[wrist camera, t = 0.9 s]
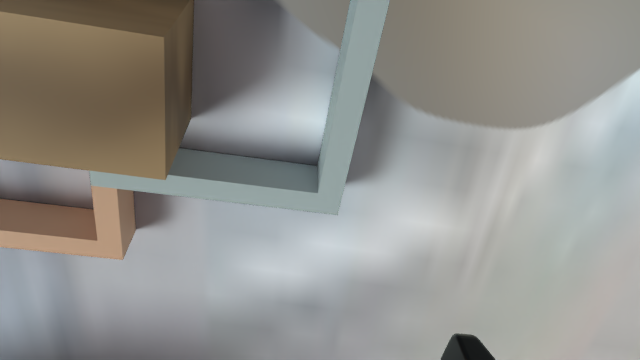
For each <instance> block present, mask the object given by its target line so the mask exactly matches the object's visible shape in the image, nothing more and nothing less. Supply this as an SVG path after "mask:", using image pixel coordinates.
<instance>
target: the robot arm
mask: <svg viewBox="0 0 640 360" xmlns="http://www.w3.org/2000/svg"><path fill="white" fill-rule="evenodd" d="M441 360H495V358H494V357H493V356H492V355H491V354H490V352H489V351H488V350H487V349H486V347H485V346H484V345H483V344H482V343H481V341H480V340H479V339H478V338H477V337H476V336H474V335H468V334H454V335H453V336H452V337H451V339H450V341H449V343H448V345H447V347H446V349H445V351H444V353H443V355H442V357H441Z"/></svg>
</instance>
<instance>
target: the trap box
mask: <svg viewBox="0 0 640 360" xmlns="http://www.w3.org/2000/svg"><path fill="white" fill-rule="evenodd" d="M389 2H390V0H350V5H349V9H348V15H347V20H346V25H345V30H344V35H343V40H342V45H341V50H340V55H339V60H338V65H337V70H336V75H335V80H334V85H333V90H332V95H331V100H330V105H329V110H328V115H327V120H326V125H325V130H324V135H323V140H322V145H321V150H320V155H319V160H318V165H317V166H313V165H306V164H298V163H290V162H283V161H275V160H267V159H260V158H252V157H244V156H237V155H229V154H221V153H214V152H206V151H198V150H191V149H183V148H179V149H178V151H177V154H176V156H175V158H174V161H173V163H172V166H171V168H170V170H169V173H168V175H167V178H166V180H160V179H152V178H144V177H136V176H128V175H120V174H113V173H105V172H97V171H89V174H90V182H91V190H92V199H93V207H94V209H85V208H76V207H68V206H59V205H50V204H42V203H33V202H24V201H16V200H7V199H0V247H5V248H14V249H24V250H34V251H43V252H53V253H62V254H72V255H81V256H91V257H100V258H110V259H119V260H123V258H124V256H125V254H126V251H127V249H128V247H129V244H130V242H131V240H132V238H133V235H134V233H135V231H136V227H135V211H134V195H133V191H140V192H149V193H157V194H165V195H174V196H182V197H190V198H199V199H207V200H215V201H224V202H232V203H240V204H249V205H257V206H265V207H274V208H282V209H290V210H299V211H307V212H315V213H324V214H332V215H338V211H339V207H340V203H341V199H342V195H343V191H344V187H345V183H346V179H347V174H348V170H349V166H350V162H351V158H352V154H353V150H354V146H355V142H356V138H357V133H358V129H359V125H360V121H361V117H362V113H363V109H364V105H365V101H366V97H367V92H368V88H369V84H370V80H371V76H372V72H373V67H374V64H375V59H376V55H377V51H378V47H379V43H380V39H381V35H382V31H383V27H384V23H385V18H386V14H387V10H388V6H389Z"/></svg>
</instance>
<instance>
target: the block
mask: <svg viewBox="0 0 640 360" xmlns="http://www.w3.org/2000/svg"><path fill="white" fill-rule="evenodd" d="M193 17H194V0H0V159H3V160H10V161H18V162H26V163H34V164H42V165H50V166H58V167H65V168H73V169H81V170H89V171H97V172H105V173H113V174H120V175H128V176H136V177H144V178H152V179H160V180H166V178H167V175H168V173H169V170H170V168H171V166H172V163H173V161H174V158H175V156H176V154H177V151H178V149H179V146H180V144H181V141H182V139H183V137H184V134H185V132H186V129H187V127H188V124H189V122H190V120H191V99H192V58H193Z"/></svg>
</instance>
